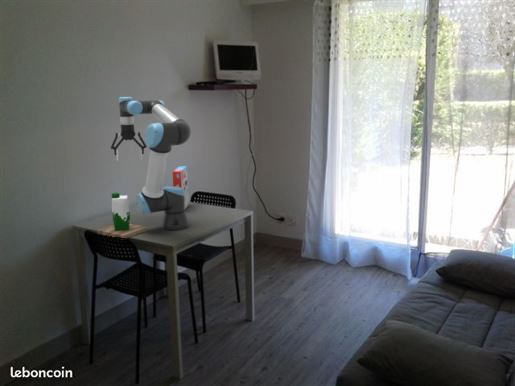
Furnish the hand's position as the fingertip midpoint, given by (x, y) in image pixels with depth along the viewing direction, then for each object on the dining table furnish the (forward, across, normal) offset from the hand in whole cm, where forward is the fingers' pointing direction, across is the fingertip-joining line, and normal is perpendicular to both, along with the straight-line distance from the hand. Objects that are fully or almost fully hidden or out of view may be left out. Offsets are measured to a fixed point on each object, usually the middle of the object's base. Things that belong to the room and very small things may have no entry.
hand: (129, 160), depth 265 cm
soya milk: (+34, +6, +25) cm, 43 cm away
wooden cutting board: (+36, +6, +25) cm, 44 cm away
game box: (+37, -31, -18) cm, 51 cm away
